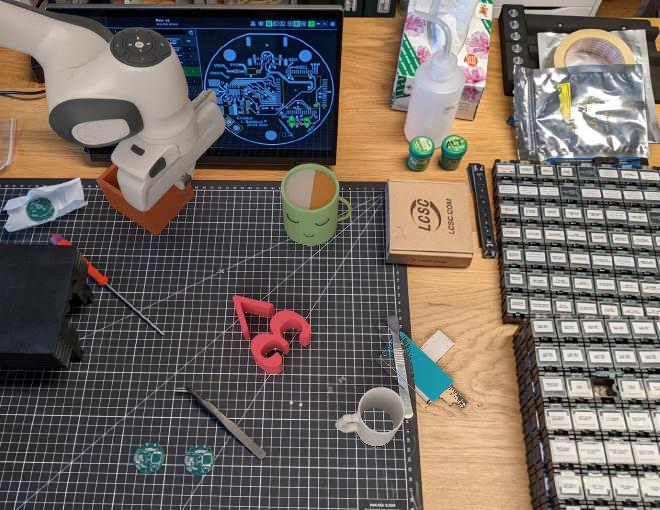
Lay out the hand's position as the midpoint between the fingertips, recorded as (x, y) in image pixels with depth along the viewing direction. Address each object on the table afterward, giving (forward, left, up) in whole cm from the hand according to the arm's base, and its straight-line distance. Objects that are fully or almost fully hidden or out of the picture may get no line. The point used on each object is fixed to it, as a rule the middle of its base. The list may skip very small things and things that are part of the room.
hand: (184, 182), depth 102 cm
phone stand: (+47, +2, -16) cm, 50 cm away
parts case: (-12, 0, -16) cm, 20 cm away
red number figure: (+22, -9, -16) cm, 29 cm away
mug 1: (+17, +14, -16) cm, 27 cm away
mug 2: (+45, -14, -16) cm, 50 cm away
